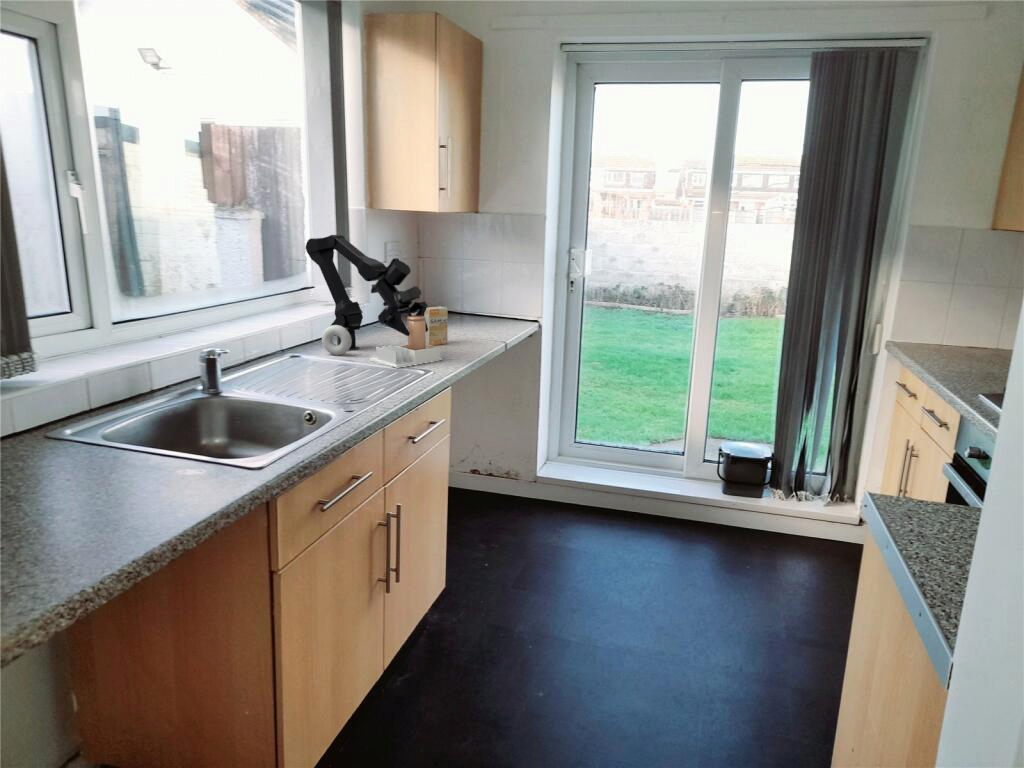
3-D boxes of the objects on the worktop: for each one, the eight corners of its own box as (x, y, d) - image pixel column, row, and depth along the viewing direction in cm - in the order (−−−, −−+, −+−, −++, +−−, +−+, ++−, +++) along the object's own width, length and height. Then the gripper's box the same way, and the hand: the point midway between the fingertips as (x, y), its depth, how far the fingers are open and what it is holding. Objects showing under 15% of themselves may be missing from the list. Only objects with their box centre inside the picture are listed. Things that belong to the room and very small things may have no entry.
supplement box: (429, 346, 249) (428, 309, 246) (421, 344, 253) (420, 307, 250) (448, 343, 255) (448, 307, 251) (440, 341, 258) (440, 305, 255)
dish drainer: (369, 361, 226) (369, 345, 224) (415, 353, 238) (414, 338, 237) (396, 368, 216) (396, 352, 215) (442, 360, 229) (442, 345, 227)
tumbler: (405, 356, 229) (404, 316, 226) (422, 354, 231) (422, 314, 228) (411, 359, 224) (410, 318, 221) (428, 358, 226) (427, 317, 223)
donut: (320, 355, 232) (319, 325, 230) (325, 353, 236) (323, 323, 233) (349, 357, 231) (348, 326, 228) (353, 355, 234) (352, 324, 231)
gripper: (384, 280, 216) (413, 321, 213) (423, 276, 232) (450, 313, 229) (365, 304, 222) (393, 343, 219) (404, 298, 238) (431, 334, 235)
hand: (418, 333), depth 225 cm, fingers open, 9 cm apart
